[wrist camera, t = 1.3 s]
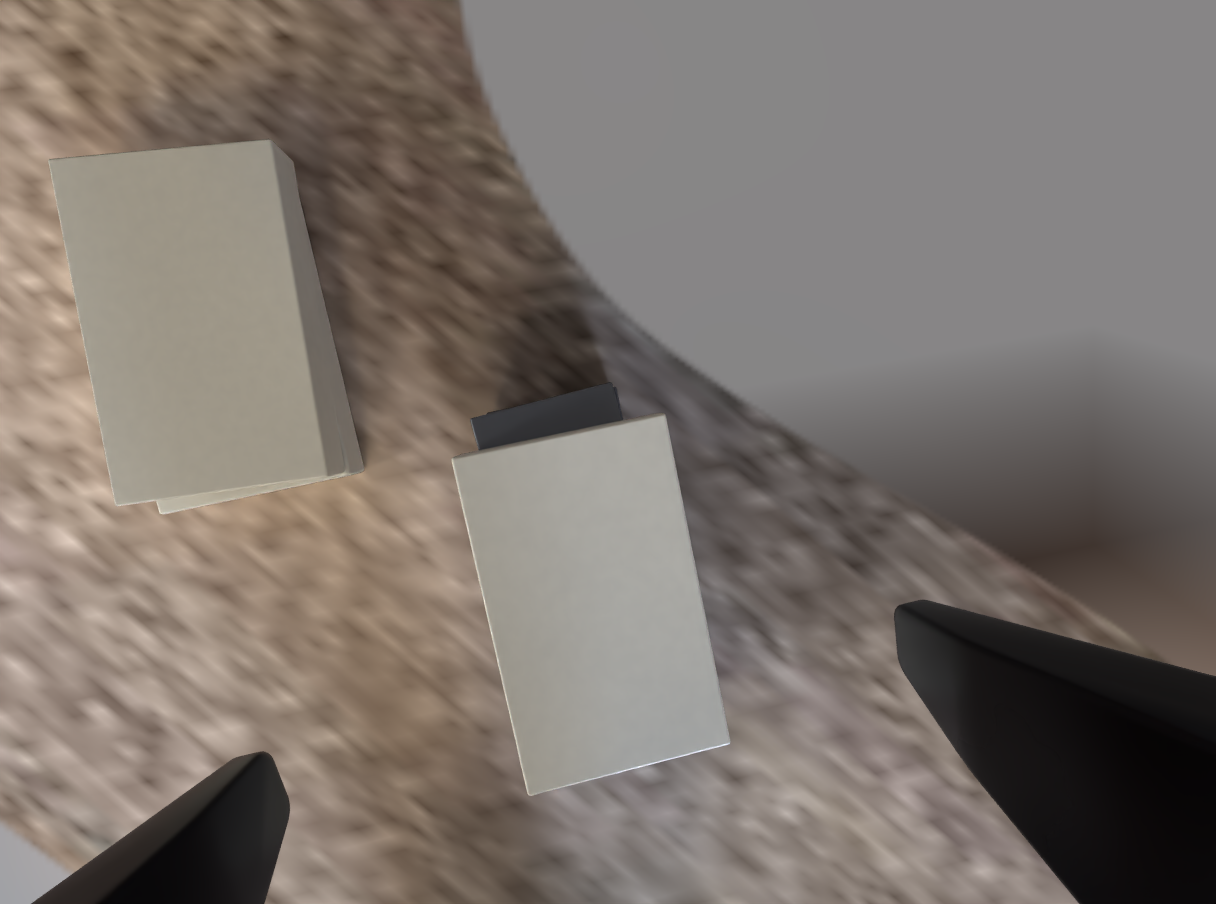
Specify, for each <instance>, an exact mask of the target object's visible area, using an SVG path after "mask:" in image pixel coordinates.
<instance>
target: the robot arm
mask: <svg viewBox="0 0 1216 904" xmlns="http://www.w3.org/2000/svg"><path fill="white" fill-rule="evenodd" d="M894 621H895V632H896V643H897V654H898V660H899V663H900V666H901V668H902V670H903V672H904V674H905V676H906V677H907V679H908V680H909V681H910V683H911V684H912V686H913V687H914V689H915V690H916V692H917V693H918V695H919V696H920V698H921V699H922V701H923V702H924V704H925V705H926V707H927V708H928V710H929V711H930V713H931V714H932V716H933V717H934V719H935V720H936V722H937V723H938V725H939V726H940V728H941V729H942V731H943V732H944V734H945V735H946V737H947V738H948V739H949V741H950V742H951V744H952V745H953V747H954V748H955V750H956V751H957V753H958V754H959V756H960V757H961V758H962V760H963V761H964V763H965V764H966V765H967V767H968V768H969V770H970V771H971V772H972V773H973V775H974V776H975V777H976V778H977V780H978V781H979V782H980V784H981V785H982V786H983V787H984V788H985V790H986V791H987V792H988V793H989V795H990V796H991V797H992V798H993V799H994V801H995V802H996V803H997V804H998V805H999V807H1000V808H1001V809H1002V810H1003V812H1004V813H1005V814H1006V815H1007V816H1008V818H1009V819H1010V820H1011V821H1012V823H1013V824H1014V825H1015V826H1016V827H1017V829H1018V830H1019V831H1020V832H1021V833H1022V835H1023V836H1024V837H1025V838H1026V840H1027V841H1028V842H1029V843H1030V844H1031V846H1032V847H1033V848H1034V849H1035V850H1036V852H1037V853H1038V854H1039V855H1040V857H1041V858H1042V859H1043V860H1044V861H1045V863H1046V864H1047V865H1048V866H1049V868H1050V869H1051V870H1052V871H1053V872H1054V874H1055V875H1056V876H1057V877H1058V878H1059V880H1060V881H1061V882H1062V883H1063V885H1064V886H1065V887H1066V888H1067V889H1068V891H1069V892H1070V893H1071V894H1072V895H1073V897H1074V898H1075V899H1076V900H1077V902H1078V903H1079V904H1216V676H1212V675H1209V674H1205V673H1201V672H1197V671H1193V670H1189V669H1186V668H1182V667H1178V666H1174V665H1171V664H1167V663H1163V662H1159V661H1155V660H1152V659H1148V658H1144V657H1140V656H1136V655H1133V654H1129V653H1125V652H1121V651H1118V650H1114V649H1110V648H1106V647H1102V646H1099V645H1095V644H1091V643H1087V642H1083V641H1080V640H1076V639H1072V638H1068V637H1064V636H1061V635H1057V634H1053V633H1049V632H1046V631H1042V630H1038V629H1034V628H1030V627H1027V626H1023V625H1019V624H1015V623H1011V622H1008V621H1004V620H1000V619H996V618H993V617H989V616H985V615H981V614H977V613H974V612H970V611H966V610H962V609H958V608H955V607H951V606H947V605H943V604H940V603H936V602H932V601H928V600H918V601H914V602H910V603H905V604H901V605H899V606H898V607H897V608H896V609H895V613H894ZM289 813H290V803H289V798H288V795H287V793H286V790H285V787H284V785H283V782H282V780H281V777H280V775H279V772H278V770H277V767H276V765H275V762H274V760H273V758H272V756H271V755H270V754H269V753H267V752H264V751H263V752H257V753H252V754H248V755H244V756H239V757H236V758H234V759H232V760H230V761H229V762H228V763H226V764H225V765H223V766H222V767H221V768H219V769H218V770H216V771H215V772H214V773H212V774H211V775H210V776H208V777H207V778H205V779H204V780H203V781H201V782H200V783H198V784H197V785H196V786H194V787H193V788H191V789H190V790H189V791H187V792H186V793H184V794H183V795H182V796H180V797H179V798H178V799H176V800H175V801H173V802H172V803H171V804H169V805H168V806H166V807H165V808H164V809H162V810H161V811H159V812H158V813H157V814H155V815H154V816H152V817H151V818H150V819H148V820H147V821H146V822H144V823H143V824H141V825H140V826H139V827H137V828H136V829H134V830H133V831H132V832H130V833H129V834H127V835H126V836H125V837H123V838H122V839H120V840H119V841H118V842H116V843H115V844H114V845H112V846H111V847H109V848H108V849H107V850H105V851H104V852H102V853H101V854H100V855H98V856H97V857H95V858H94V859H93V860H91V861H90V862H88V863H87V864H86V865H84V866H83V867H82V868H80V869H79V870H77V871H76V872H75V873H73V874H72V875H70V876H69V877H68V878H66V879H65V880H63V881H62V882H61V883H59V884H58V885H56V886H55V887H54V888H52V889H51V890H50V891H48V892H47V893H46V894H44V895H43V896H41V897H40V898H38V899H37V900H36V901H34V902H33V903H32V904H264V903H265V900H266V896H267V893H268V889H269V886H270V882H271V879H272V876H273V872H274V869H275V865H276V862H277V858H278V855H279V851H280V848H281V844H282V841H283V837H284V834H285V830H286V827H287V823H288V819H289Z"/></svg>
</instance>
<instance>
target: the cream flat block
mask: <svg viewBox="0 0 1216 904" xmlns="http://www.w3.org/2000/svg"><path fill="white" fill-rule="evenodd" d="M48 162H49V167H50V173H51V178H52V183H53V188H54V193H55V198H56V203H57V209H58V214H59V219H60V224H61V229H62V234H63V239H64V245H65V250H66V255H67V260H68V265H69V270H70V275H71V281H72V286H73V291H74V296H75V301H76V306H77V312H78V317H79V322H80V327H81V332H82V337H83V342H84V348H85V353H86V358H87V363H88V368H89V373H90V378H91V384H92V389H93V394H94V399H95V404H96V409H97V414H98V420H99V425H100V430H101V435H102V440H103V445H104V450H105V456H106V461H107V466H108V471H109V476H110V481H111V486H112V492H113V497H114V502H115V505H116V506H123V505H130V504H137V503H144V502H151V501H156V502H157V506H158V509H159V513H160V514H169V513H173V512H178V511H183V510H188V509H193V508H197V507H202V506H207V505H212V504H216V503H221V502H226V501H231V500H236V499H240V498H245V497H250V496H255V495H259V494H264V493H269V492H274V491H279V490H283V489H288V488H293V487H298V486H302V485H307V484H312V483H317V482H322V481H326V480H331V479H336V478H341V477H345V476H350V475H353V474H357V473H361V472H363V471H364V465H363V461H362V457H361V453H360V448H359V444H358V440H357V436H356V432H355V428H354V423H353V419H352V415H351V411H350V407H349V402H348V398H347V394H346V390H345V386H344V382H343V377H342V373H341V369H340V365H339V361H338V356H337V352H336V348H335V344H334V340H333V336H332V331H331V327H330V323H329V319H328V315H327V310H326V306H325V302H324V298H323V294H322V290H321V285H320V281H319V277H318V273H317V269H316V264H315V260H314V256H313V252H312V248H311V244H310V239H309V235H308V231H307V227H306V223H305V218H304V214H303V210H302V206H301V202H300V198H299V192H298V186H297V180H296V174H295V168H294V162H293V161H292V160H291V159H290V158H289V157H288V156H287V155H286V154H285V153H284V152H283V151H282V150H281V149H280V148H279V147H278V146H277V145H276V144H275V143H274V142H273V141H272V140H270V139H265V140H254V141H243V142H232V143H221V144H210V145H199V146H188V147H177V148H166V149H155V150H144V151H133V152H123V153H112V154H101V155H90V156H79V157H68V158H57V159H49V160H48Z"/></svg>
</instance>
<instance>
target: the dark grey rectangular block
mask: <svg viewBox="0 0 1216 904" xmlns="http://www.w3.org/2000/svg"><path fill="white" fill-rule="evenodd" d="M621 420H623V418H622V413H621V408H620V403H619V398H618V393H617V389H616V387H613V385H612V383H611V382H609V383H605V384H601V385H597V386H594V387H590V388H586V389H582V390H578V391H574V392H570V393H567V394H563V395H559V396H555V397H551V398H547V399H543V400H540V401H536V402H532V403H528V404H524V405H520V406H517V407H513V408H508V409H503V410H498V411H493V412H488V413H487V414H486V415H482V416H478V417H474V418H471V420H470V421H471V425H472V428H473V432H474V435H475V439H476V443H477V446H478V450H483V449H488V448H493V447H497V446H502V445H507V444H512V443H516V442H521V441H526V440H531V439H535V438H540V437H545V436H550V435H555V434H559V433H564V432H569V431H574V430H578V429H583V428H588V427H593V426H598V425H602V424H607V423H612V422H617V421H621Z"/></svg>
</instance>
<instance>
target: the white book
mask: <svg viewBox="0 0 1216 904" xmlns="http://www.w3.org/2000/svg"><path fill="white" fill-rule="evenodd" d="M452 465H453V469H454V473H455V478H456V482H457V487H458V491H459V495H460V500H461V504H462V509H463V513H464V517H465V522H466V526H467V531H468V535H469V539H470V544H471V548H472V552H473V557H474V561H475V566H476V570H477V574H478V579H479V583H480V588H481V592H482V596H483V601H484V605H485V609H486V614H487V618H488V623H489V627H490V631H491V636H492V640H493V645H494V649H495V653H496V658H497V662H498V667H499V671H500V675H501V680H502V684H503V688H504V693H505V697H506V702H507V706H508V710H509V715H510V719H511V724H512V728H513V732H514V737H515V741H516V746H517V750H518V754H519V759H520V763H521V767H522V772H523V776H524V781H525V785H526V789H527V793H528V795H530V796H531V795H535V794H539V793H543V792H546V791H550V790H554V789H558V788H562V787H566V786H570V785H573V784H577V783H581V782H585V781H589V780H593V779H597V778H601V777H604V776H608V775H612V774H616V773H620V772H624V771H628V770H631V769H635V768H639V767H643V766H647V765H651V764H655V763H658V762H662V761H666V760H670V759H674V758H678V757H682V756H685V755H689V754H693V753H697V752H701V751H705V750H709V749H713V748H716V747H720V746H724V745H728V744H730V736H729V731H728V726H727V721H726V716H725V711H724V706H723V701H722V696H721V691H720V686H719V681H718V676H717V671H716V666H715V661H714V656H713V651H712V646H711V641H710V636H709V631H708V626H707V621H706V616H705V611H704V606H703V601H702V596H701V591H700V586H699V581H698V576H697V571H696V565H695V560H694V555H693V550H692V545H691V540H690V535H689V530H688V525H687V520H686V515H685V510H684V505H683V500H682V495H681V490H680V485H679V480H678V475H677V470H676V465H675V460H674V455H673V450H672V445H671V440H670V435H669V430H668V425H667V420H666V415H665V414H663V413H658V414H650V415H645V416H640V417H636V418H631V419H626V420H621V421H617V422H612V423H607V424H602V425H598V426H593V427H588V428H583V429H578V430H574V431H569V432H564V433H559V434H555V435H550V436H545V437H540V438H535V439H531V440H526V441H521V442H516V443H512V444H507V445H502V446H497V447H493V448H488V449H483V450H478V451H473V452H469V453H464V454H460V455H458V456H455V457H453V458H452Z"/></svg>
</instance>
